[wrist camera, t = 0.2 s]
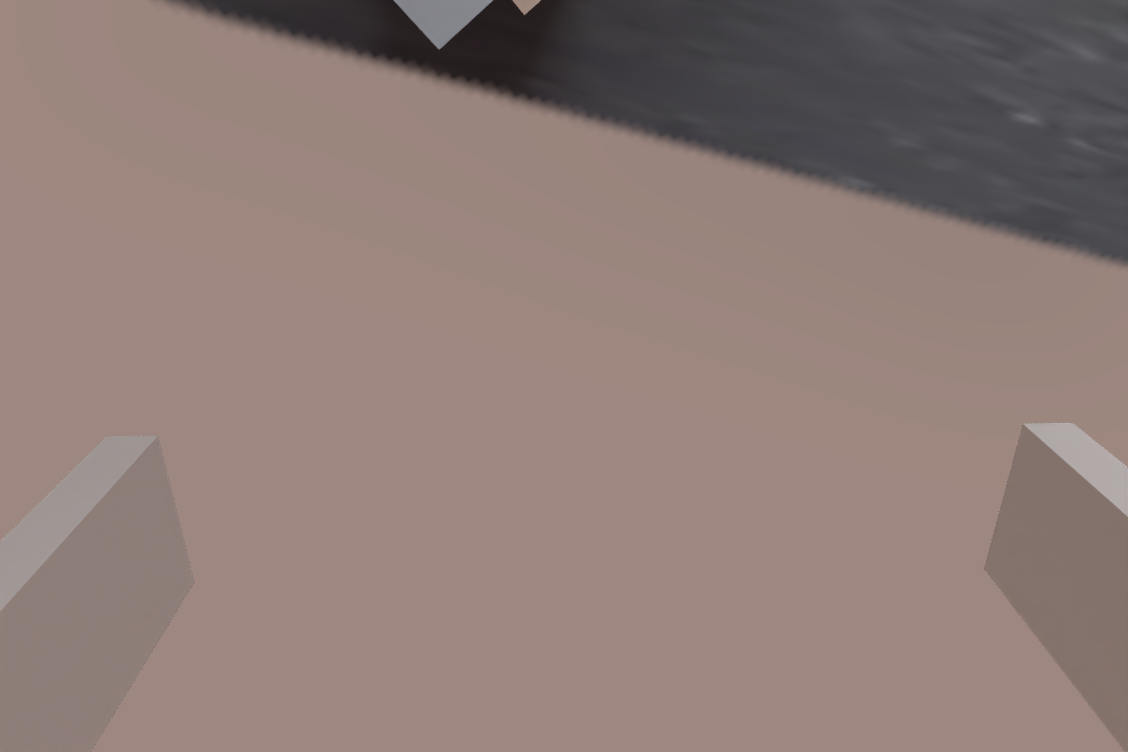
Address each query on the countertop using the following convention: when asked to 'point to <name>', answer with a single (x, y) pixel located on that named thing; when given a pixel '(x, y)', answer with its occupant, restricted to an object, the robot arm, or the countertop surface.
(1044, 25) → the countertop surface
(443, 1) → the knob
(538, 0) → the mount
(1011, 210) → the countertop surface
